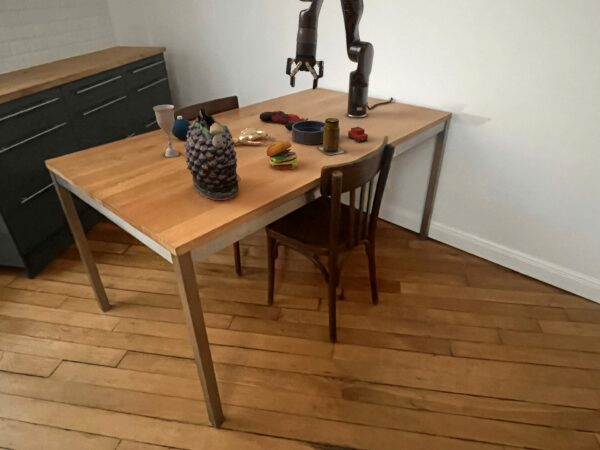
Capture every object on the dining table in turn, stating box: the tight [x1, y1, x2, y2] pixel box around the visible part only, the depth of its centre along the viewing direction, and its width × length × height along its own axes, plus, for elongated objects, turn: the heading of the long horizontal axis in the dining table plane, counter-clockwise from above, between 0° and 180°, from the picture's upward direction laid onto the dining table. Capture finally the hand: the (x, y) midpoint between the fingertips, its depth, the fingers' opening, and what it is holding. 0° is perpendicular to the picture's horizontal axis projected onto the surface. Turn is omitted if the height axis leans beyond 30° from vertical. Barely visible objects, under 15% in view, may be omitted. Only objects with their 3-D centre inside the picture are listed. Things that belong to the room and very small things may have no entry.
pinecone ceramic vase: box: [183, 107, 242, 201], centre depth 123 cm, size 21×15×25 cm
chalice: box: [152, 104, 180, 158], centre depth 150 cm, size 7×7×18 cm
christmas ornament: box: [171, 115, 192, 140], centre depth 167 cm, size 8×8×10 cm
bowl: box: [291, 120, 325, 145], centre depth 168 cm, size 15×15×6 cm
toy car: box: [347, 126, 369, 143], centre depth 168 cm, size 8×4×4 cm, turn 29°
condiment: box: [318, 117, 345, 156], centre depth 155 cm, size 7×8×12 cm
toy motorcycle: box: [259, 110, 309, 131], centre depth 186 cm, size 25×5×16 cm
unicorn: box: [232, 127, 271, 146], centre depth 167 cm, size 20×4×17 cm
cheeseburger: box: [266, 140, 298, 170], centre depth 144 cm, size 10×11×10 cm
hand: (303, 88), depth 155 cm, fingers open, 8 cm apart
